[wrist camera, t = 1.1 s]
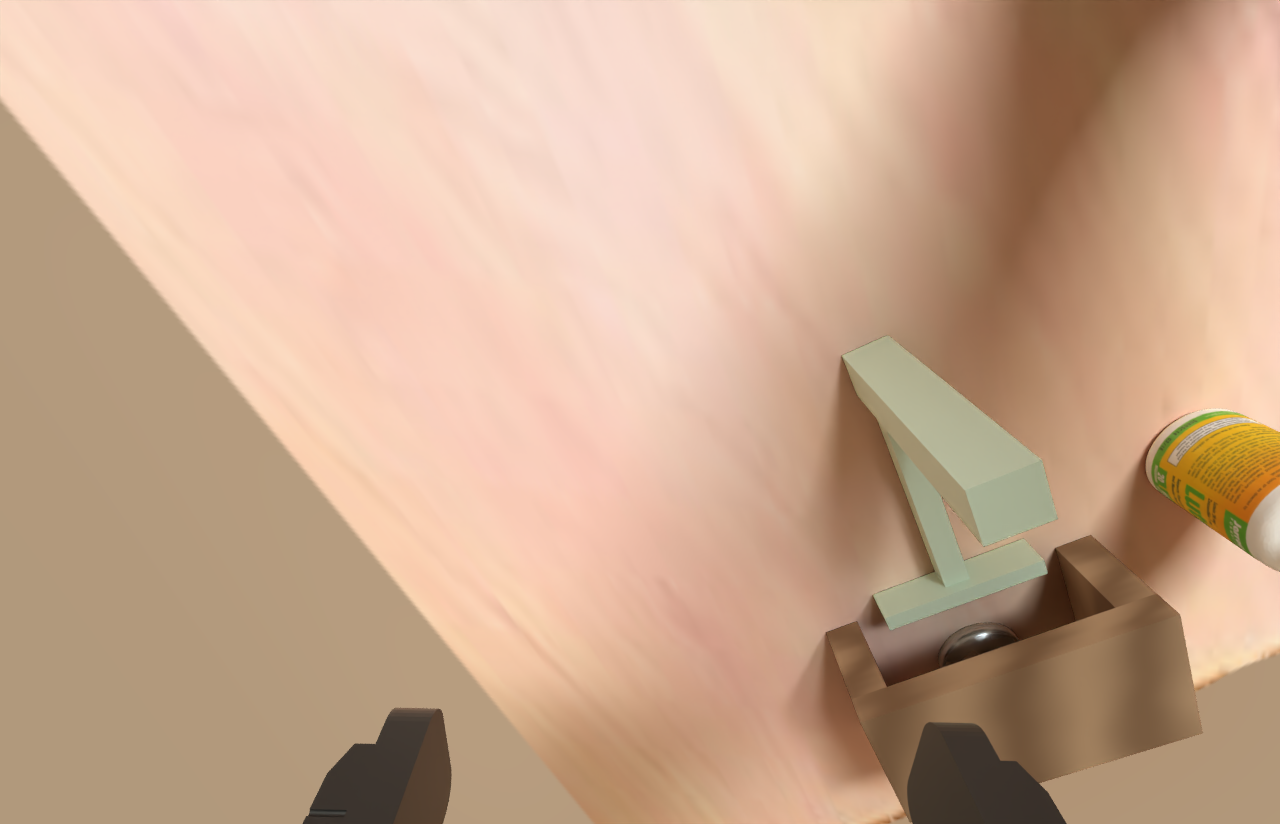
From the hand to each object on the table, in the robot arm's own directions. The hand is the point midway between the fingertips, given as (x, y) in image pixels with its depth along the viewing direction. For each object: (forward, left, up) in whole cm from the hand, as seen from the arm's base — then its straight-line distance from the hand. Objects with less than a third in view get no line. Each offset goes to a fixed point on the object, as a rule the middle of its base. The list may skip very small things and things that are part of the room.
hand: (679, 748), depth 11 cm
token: (-9, +28, -23) cm, 37 cm away
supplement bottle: (-23, +19, -23) cm, 38 cm away
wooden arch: (-9, +26, -23) cm, 36 cm away
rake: (-9, +13, -23) cm, 28 cm away
